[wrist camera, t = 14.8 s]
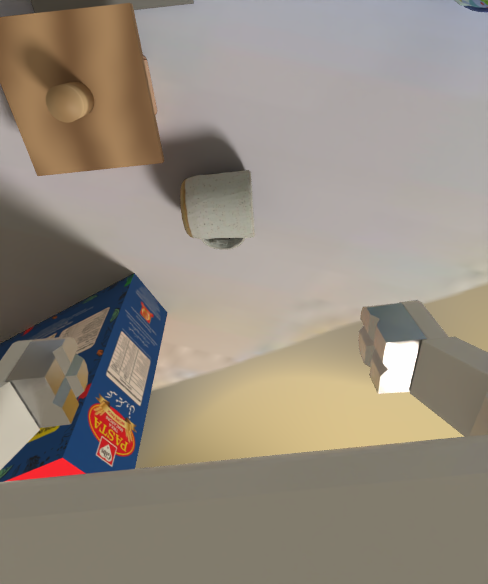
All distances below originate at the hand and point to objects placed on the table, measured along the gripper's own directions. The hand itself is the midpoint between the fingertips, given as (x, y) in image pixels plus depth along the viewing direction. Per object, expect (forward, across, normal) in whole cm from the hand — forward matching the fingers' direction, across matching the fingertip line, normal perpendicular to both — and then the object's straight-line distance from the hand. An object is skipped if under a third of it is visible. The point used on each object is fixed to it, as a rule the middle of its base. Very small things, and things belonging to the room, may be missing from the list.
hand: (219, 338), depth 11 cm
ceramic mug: (+37, +1, +10) cm, 39 cm away
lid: (+32, +13, -4) cm, 35 cm away
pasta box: (+37, +26, +28) cm, 53 cm away
